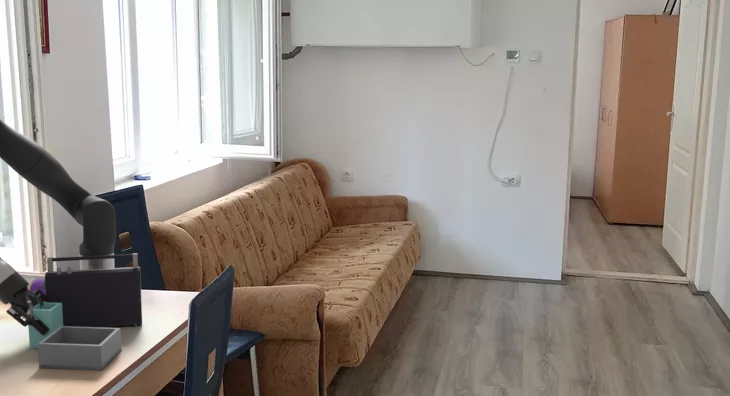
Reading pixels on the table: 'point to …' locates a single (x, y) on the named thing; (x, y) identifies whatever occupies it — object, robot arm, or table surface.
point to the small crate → (45, 321)
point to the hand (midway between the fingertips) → (52, 327)
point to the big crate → (79, 348)
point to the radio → (96, 293)
